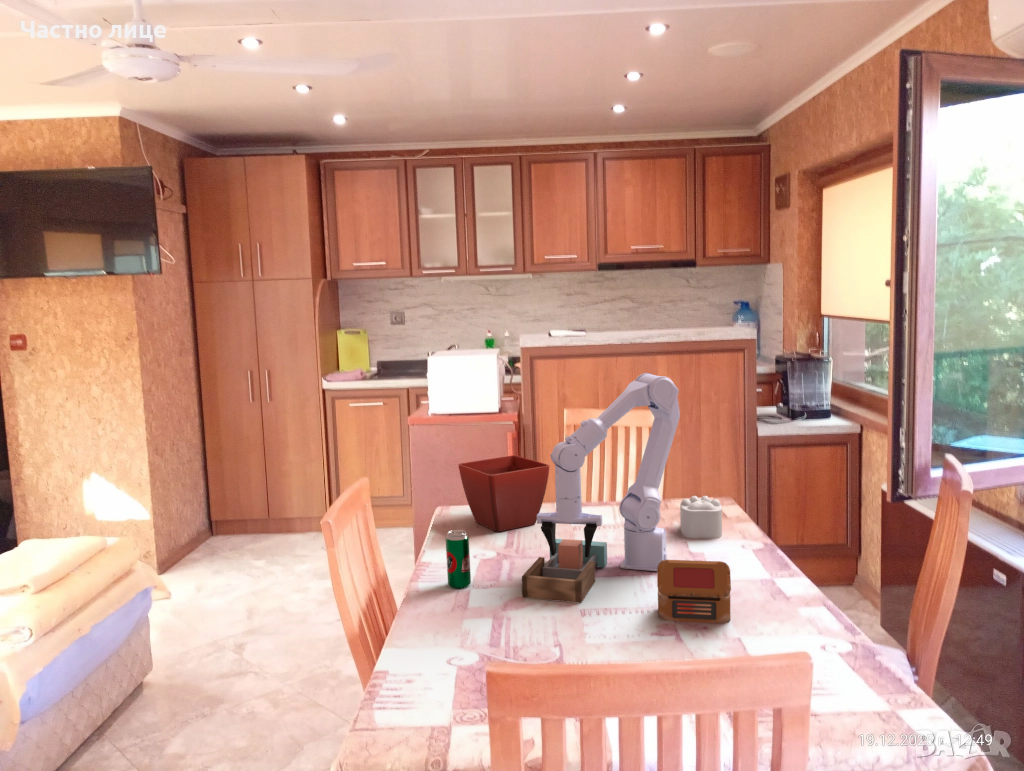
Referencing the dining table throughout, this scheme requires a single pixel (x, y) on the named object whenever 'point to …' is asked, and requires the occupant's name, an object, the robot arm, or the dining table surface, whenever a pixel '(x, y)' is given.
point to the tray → (596, 555)
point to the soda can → (458, 559)
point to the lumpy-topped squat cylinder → (701, 518)
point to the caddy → (557, 584)
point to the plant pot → (504, 490)
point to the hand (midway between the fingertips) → (570, 555)
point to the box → (694, 591)
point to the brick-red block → (570, 554)
